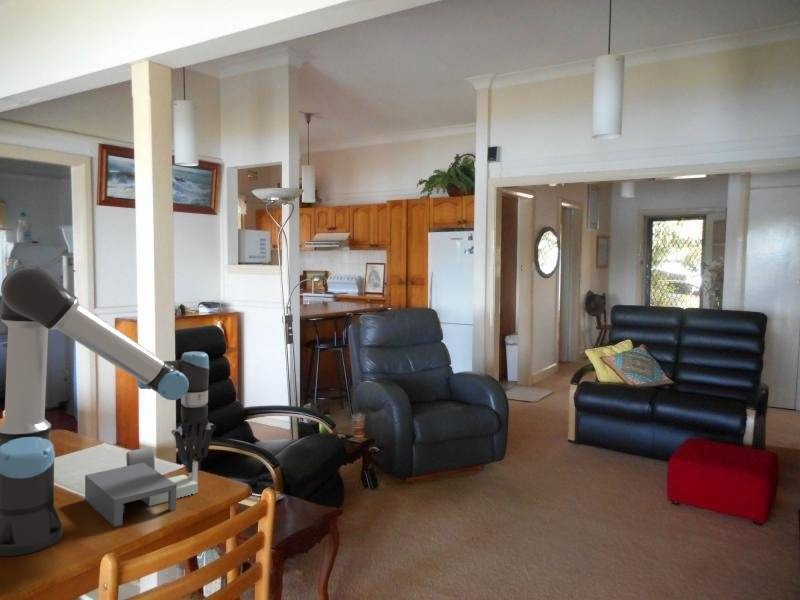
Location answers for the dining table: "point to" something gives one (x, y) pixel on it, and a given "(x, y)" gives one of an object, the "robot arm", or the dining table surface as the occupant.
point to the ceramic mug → (141, 457)
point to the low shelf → (125, 489)
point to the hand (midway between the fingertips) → (193, 482)
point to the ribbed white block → (183, 488)
